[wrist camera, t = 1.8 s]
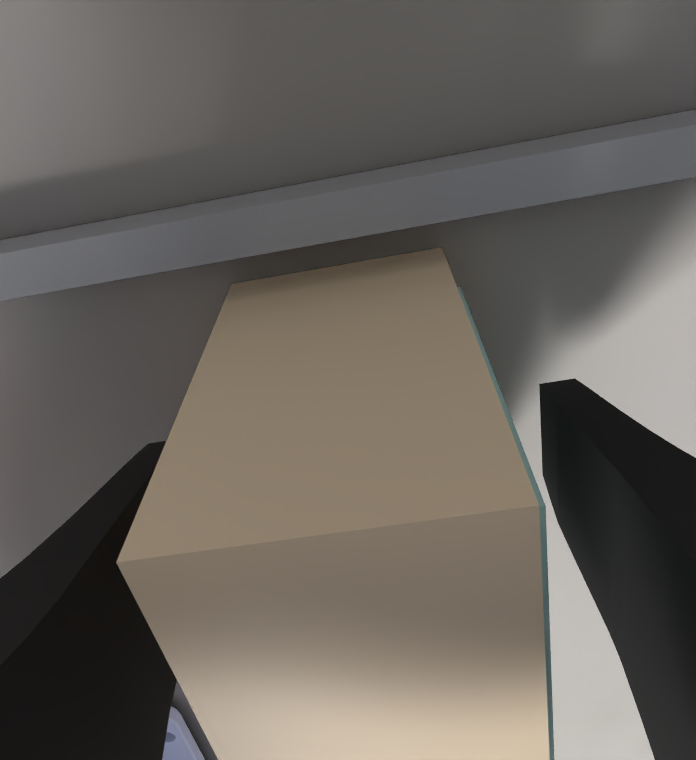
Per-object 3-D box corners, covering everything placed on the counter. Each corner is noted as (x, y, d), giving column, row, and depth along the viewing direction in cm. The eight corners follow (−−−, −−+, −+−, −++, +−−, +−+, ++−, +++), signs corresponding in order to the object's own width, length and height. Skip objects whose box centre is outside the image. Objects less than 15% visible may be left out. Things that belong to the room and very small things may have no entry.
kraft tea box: (300, 516, 15) (268, 857, 9) (232, 283, 12) (116, 561, 6) (476, 492, 15) (563, 832, 9) (450, 245, 12) (557, 504, 6)
